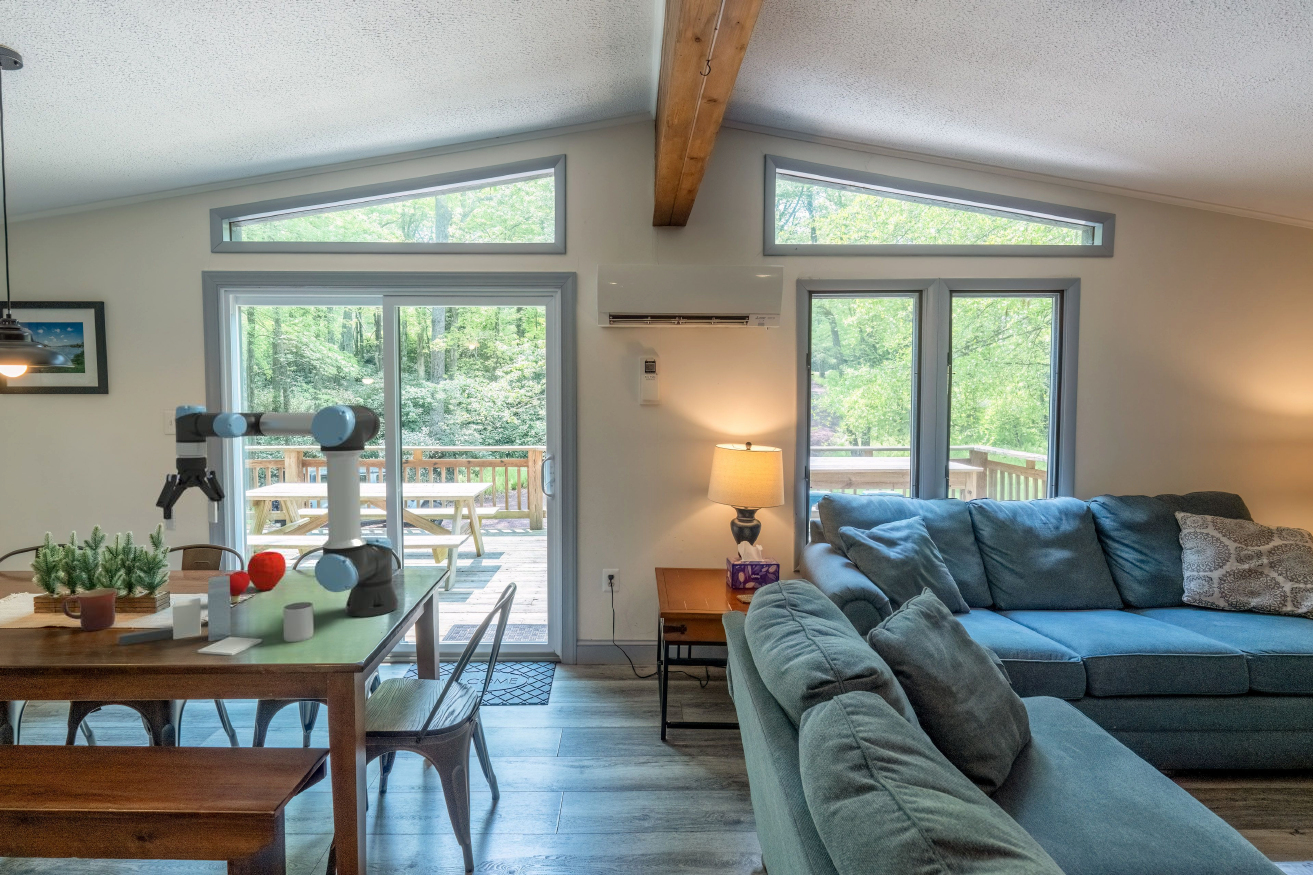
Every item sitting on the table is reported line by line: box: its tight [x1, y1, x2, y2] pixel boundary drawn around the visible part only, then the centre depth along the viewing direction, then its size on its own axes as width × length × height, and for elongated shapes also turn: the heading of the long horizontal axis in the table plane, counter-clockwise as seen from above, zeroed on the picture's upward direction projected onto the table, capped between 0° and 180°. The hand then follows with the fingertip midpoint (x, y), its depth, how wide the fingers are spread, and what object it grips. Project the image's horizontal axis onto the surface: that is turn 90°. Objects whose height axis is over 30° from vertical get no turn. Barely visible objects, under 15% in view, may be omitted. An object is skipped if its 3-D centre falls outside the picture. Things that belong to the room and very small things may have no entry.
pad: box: [197, 636, 263, 656], centre depth 167 cm, size 10×10×1 cm
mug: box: [61, 587, 119, 632], centre depth 179 cm, size 12×9×10 cm
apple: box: [246, 551, 287, 592], centre depth 220 cm, size 12×12×13 cm
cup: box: [282, 601, 314, 643], centre depth 175 cm, size 7×10×9 cm
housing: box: [207, 575, 232, 642], centre depth 180 cm, size 5×20×13 cm, turn 35°
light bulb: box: [224, 570, 251, 604], centre depth 204 cm, size 9×7×10 cm
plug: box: [118, 597, 202, 646], centre depth 172 cm, size 18×6×9 cm, turn 125°
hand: (192, 526), depth 190 cm, fingers open, 13 cm apart
